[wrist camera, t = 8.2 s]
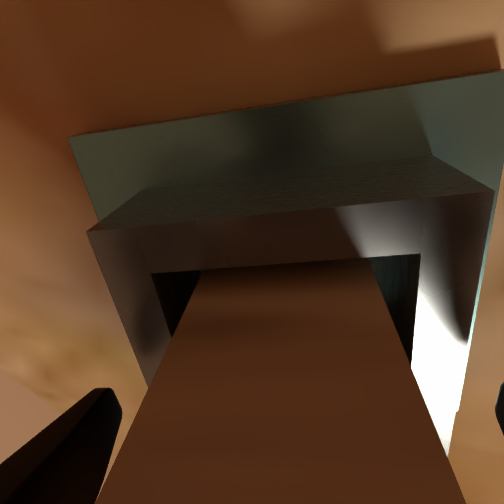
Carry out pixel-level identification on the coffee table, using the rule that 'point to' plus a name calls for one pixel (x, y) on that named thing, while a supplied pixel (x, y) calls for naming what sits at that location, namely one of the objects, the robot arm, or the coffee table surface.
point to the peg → (284, 399)
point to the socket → (310, 209)
